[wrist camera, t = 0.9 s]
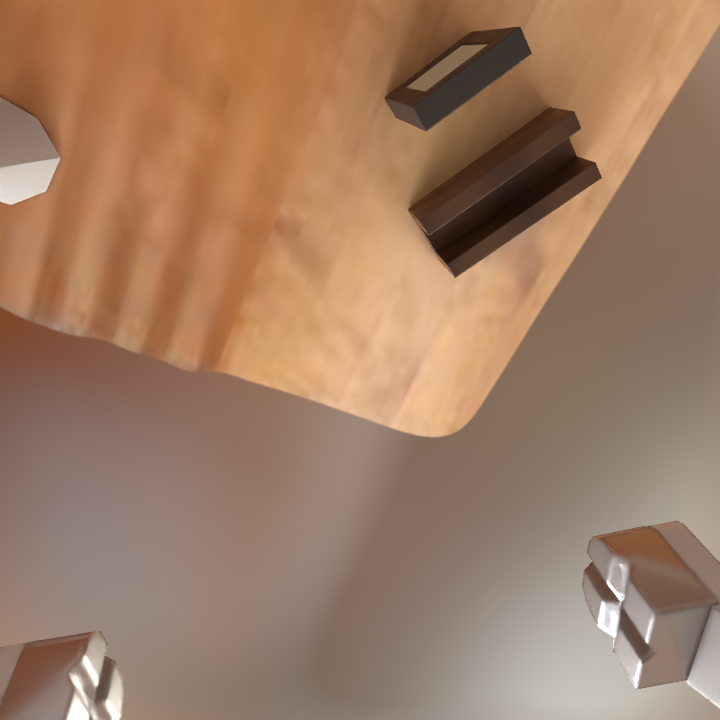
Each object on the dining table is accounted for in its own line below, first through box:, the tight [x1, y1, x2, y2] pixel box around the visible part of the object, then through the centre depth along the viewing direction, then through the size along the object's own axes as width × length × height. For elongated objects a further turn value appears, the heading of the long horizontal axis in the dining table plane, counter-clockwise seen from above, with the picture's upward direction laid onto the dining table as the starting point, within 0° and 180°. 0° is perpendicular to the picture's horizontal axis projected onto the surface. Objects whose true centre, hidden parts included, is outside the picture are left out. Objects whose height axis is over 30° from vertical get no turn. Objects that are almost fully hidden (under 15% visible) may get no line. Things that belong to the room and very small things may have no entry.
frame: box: [385, 27, 532, 131], centre depth 40 cm, size 8×2×9 cm, turn 124°
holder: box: [408, 107, 602, 278], centre depth 47 cm, size 14×6×4 cm, turn 124°
